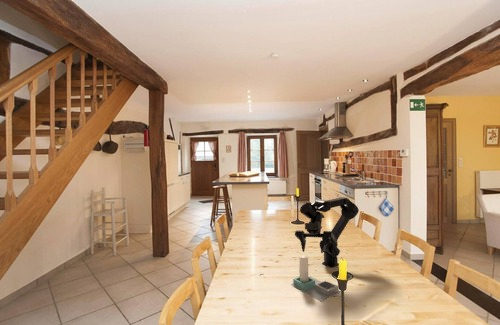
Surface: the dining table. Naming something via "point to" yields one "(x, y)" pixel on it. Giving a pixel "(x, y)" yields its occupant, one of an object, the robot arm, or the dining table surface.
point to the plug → (303, 269)
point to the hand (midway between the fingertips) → (312, 252)
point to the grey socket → (324, 291)
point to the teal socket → (302, 285)
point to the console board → (315, 293)
